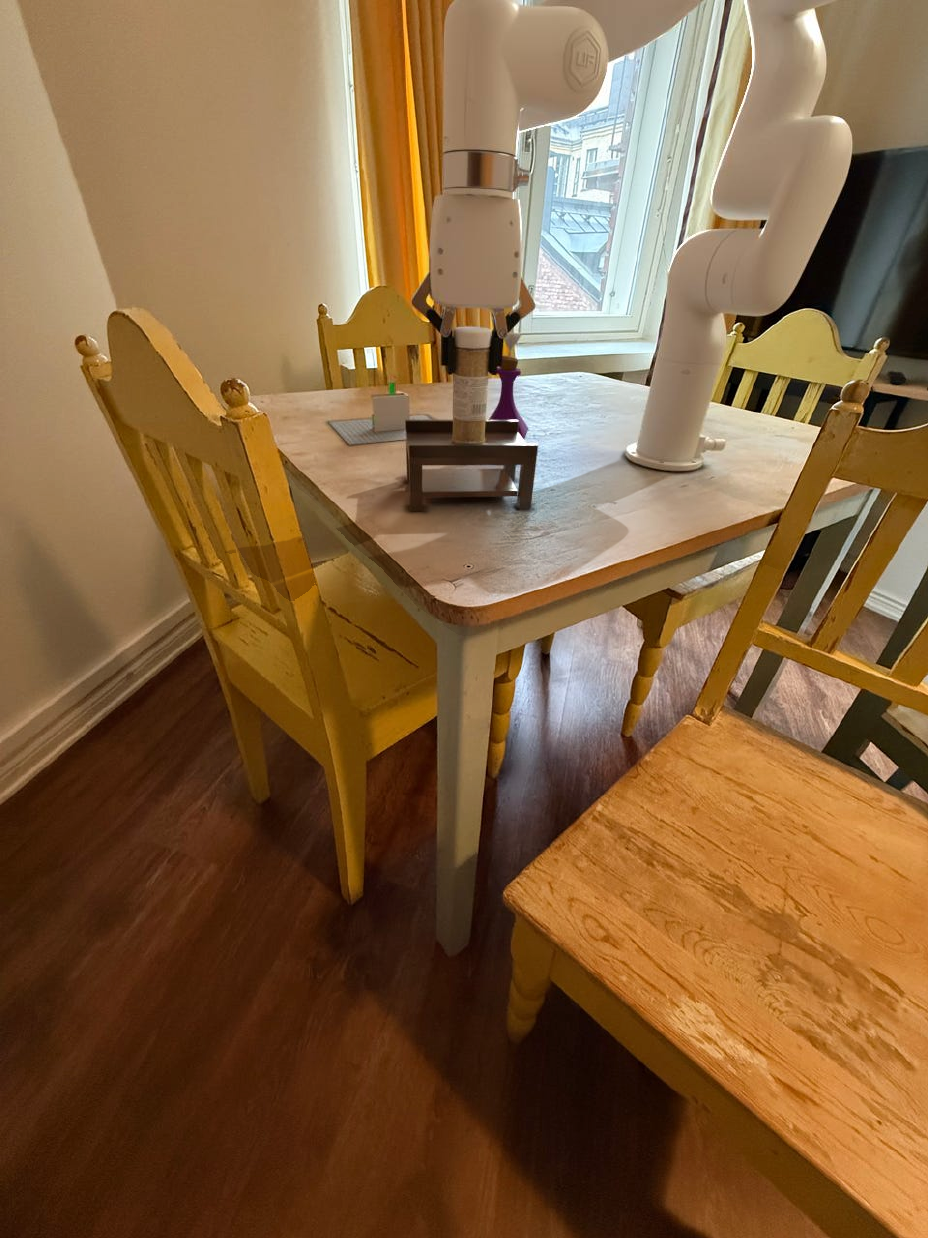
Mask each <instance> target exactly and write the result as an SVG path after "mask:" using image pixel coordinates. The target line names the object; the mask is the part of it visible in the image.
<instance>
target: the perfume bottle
mask: <svg viewBox="0 0 928 1238" xmlns="http://www.w3.org/2000/svg"><path fill="white" fill-rule="evenodd" d="M521 337H522V333H518V332H509V333H508V334H507V336H506V337H505V338H504V344H505V345H506V347H507V349H508V355H504V354H503V356H502V366H501V367H497V375H498V376H499V379H500V382H501V385H500V386H501V388H500V395H499V401H498V403H497V405H496V407H495V409H494V410H493V412H492V413H491V415H490V417H489V418H488V420H518V421H519V426H518V433H519V435H520V436H521V437H522V439H523V440H524V441H525V439H526V436H527V434H528V431H529V427H528V426H527V424H526V422H525V420H524V419H523V418H522V416H521V415H520V412H519V410H518V408H517V406H516V403H515V397H514V383H515V381H516V379H517V377H518V376H521V375H522V370H521V369H520V368H518V364H519V360H518V358H517V357H515V356H511V350H512V349H513V348H514V347H515V346H516V345H517V344H518V342H519V341H520V339H521Z"/></svg>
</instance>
